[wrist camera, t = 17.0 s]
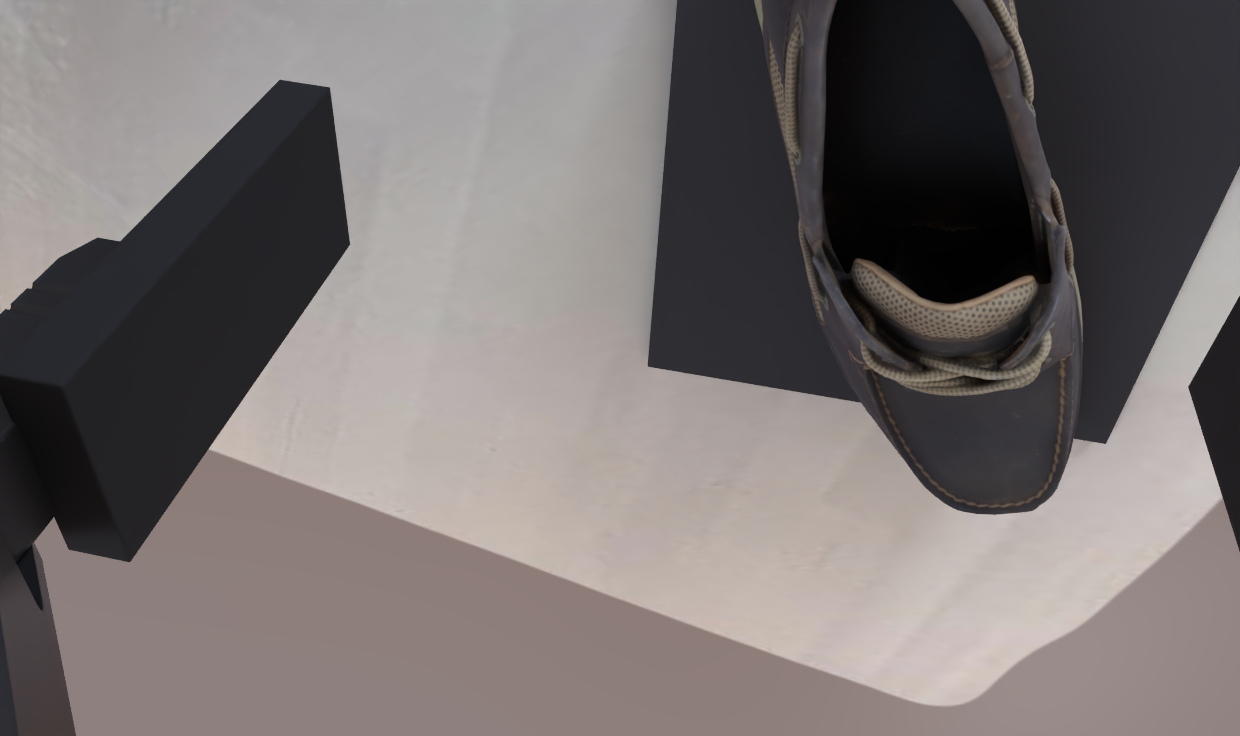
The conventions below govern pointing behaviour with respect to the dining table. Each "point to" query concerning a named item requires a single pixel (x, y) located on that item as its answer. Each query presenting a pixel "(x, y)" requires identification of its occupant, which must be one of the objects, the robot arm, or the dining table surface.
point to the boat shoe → (934, 236)
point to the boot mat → (1074, 150)
